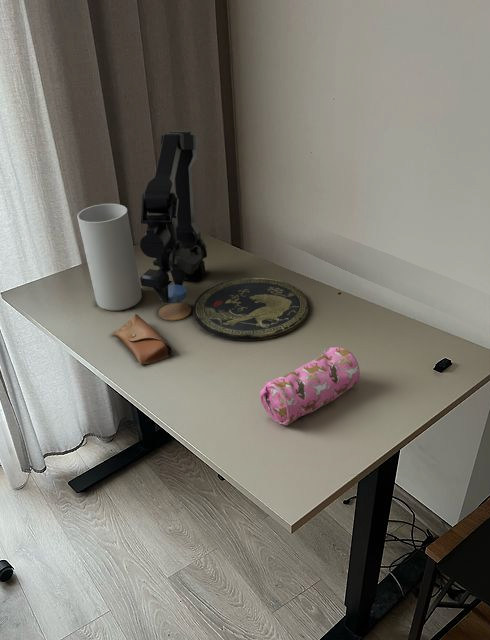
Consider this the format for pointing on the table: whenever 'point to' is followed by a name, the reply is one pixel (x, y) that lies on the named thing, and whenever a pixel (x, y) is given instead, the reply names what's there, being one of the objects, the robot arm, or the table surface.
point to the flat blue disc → (176, 293)
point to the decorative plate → (250, 309)
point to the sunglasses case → (143, 341)
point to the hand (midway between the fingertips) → (172, 296)
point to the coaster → (174, 311)
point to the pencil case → (310, 385)
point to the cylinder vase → (110, 256)
